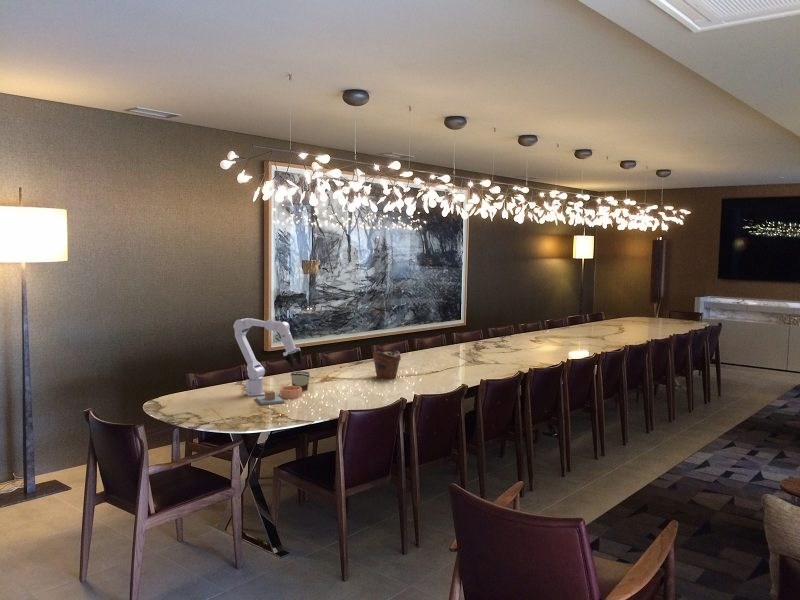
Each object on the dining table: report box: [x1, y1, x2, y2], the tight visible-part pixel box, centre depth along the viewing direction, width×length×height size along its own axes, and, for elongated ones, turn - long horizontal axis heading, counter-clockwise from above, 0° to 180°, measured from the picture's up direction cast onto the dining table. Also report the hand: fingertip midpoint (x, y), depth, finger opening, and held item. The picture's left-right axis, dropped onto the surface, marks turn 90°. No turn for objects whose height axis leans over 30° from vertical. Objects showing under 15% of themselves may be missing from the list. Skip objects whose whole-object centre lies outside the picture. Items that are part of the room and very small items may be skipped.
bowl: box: [279, 385, 303, 399], centre depth 365 cm, size 12×12×4 cm
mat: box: [253, 398, 287, 406], centre depth 352 cm, size 14×14×1 cm
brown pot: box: [372, 349, 402, 380], centre depth 420 cm, size 18×20×18 cm
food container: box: [290, 370, 311, 391], centre depth 383 cm, size 12×6×10 cm, turn 74°
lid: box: [255, 390, 285, 404], centre depth 352 cm, size 12×12×5 cm
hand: (296, 365), depth 358 cm, fingers open, 7 cm apart
